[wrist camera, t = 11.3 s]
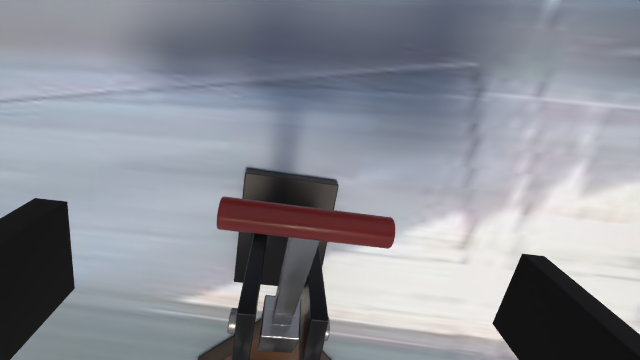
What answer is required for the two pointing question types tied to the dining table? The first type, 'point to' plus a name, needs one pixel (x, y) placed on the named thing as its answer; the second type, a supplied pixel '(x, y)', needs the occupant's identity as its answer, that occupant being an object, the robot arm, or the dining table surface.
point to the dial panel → (253, 350)
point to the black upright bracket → (280, 262)
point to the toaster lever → (298, 253)
